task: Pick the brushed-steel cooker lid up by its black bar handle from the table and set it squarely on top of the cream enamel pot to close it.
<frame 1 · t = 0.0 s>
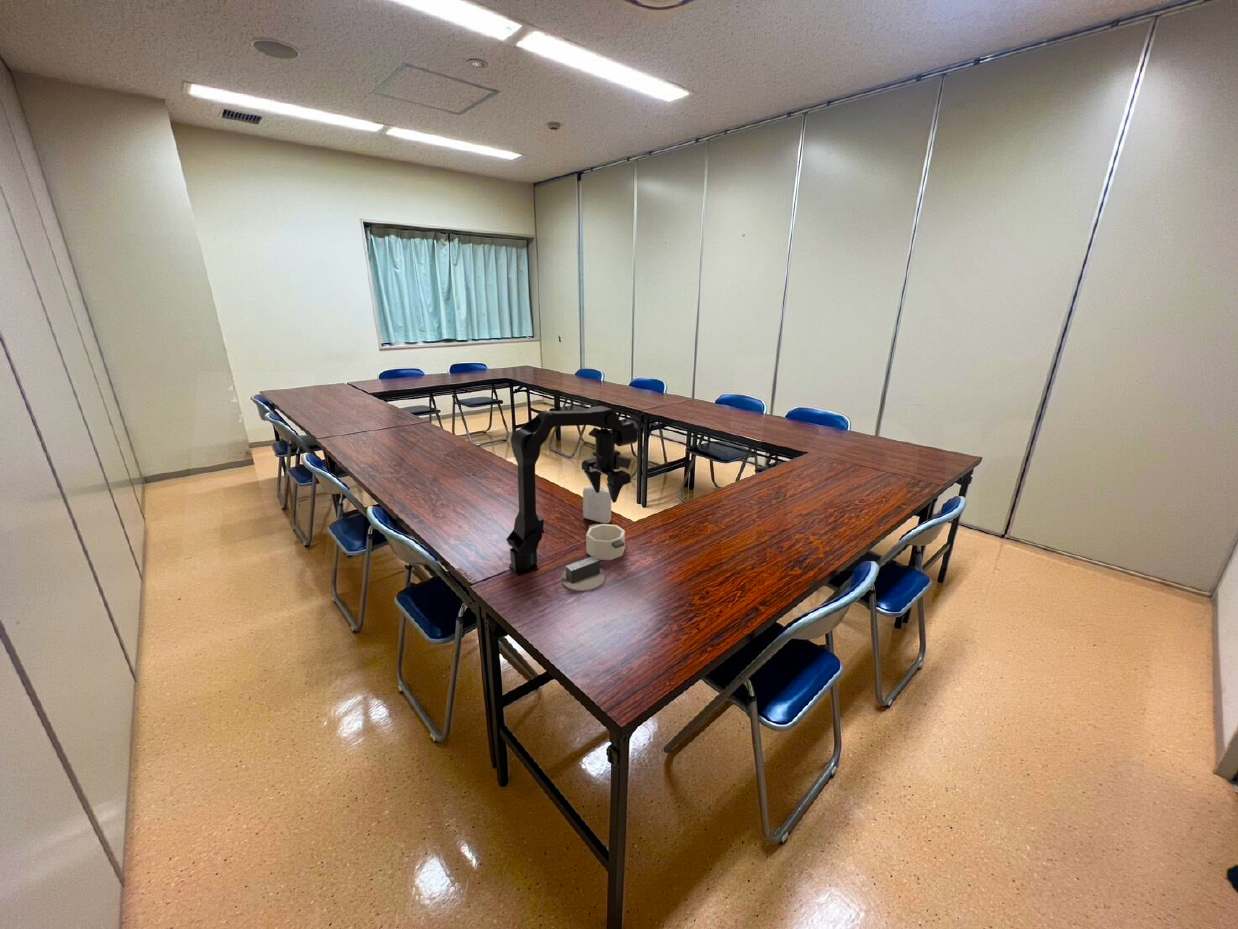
hand: (605, 497, 146), 15 cm above the table, tool pointing down, fingers open, 9 cm apart
photo printer: (597, 519, 165), on the table
cooker pot: (605, 550, 144), on the table
cooker lid: (583, 579, 130), on the table
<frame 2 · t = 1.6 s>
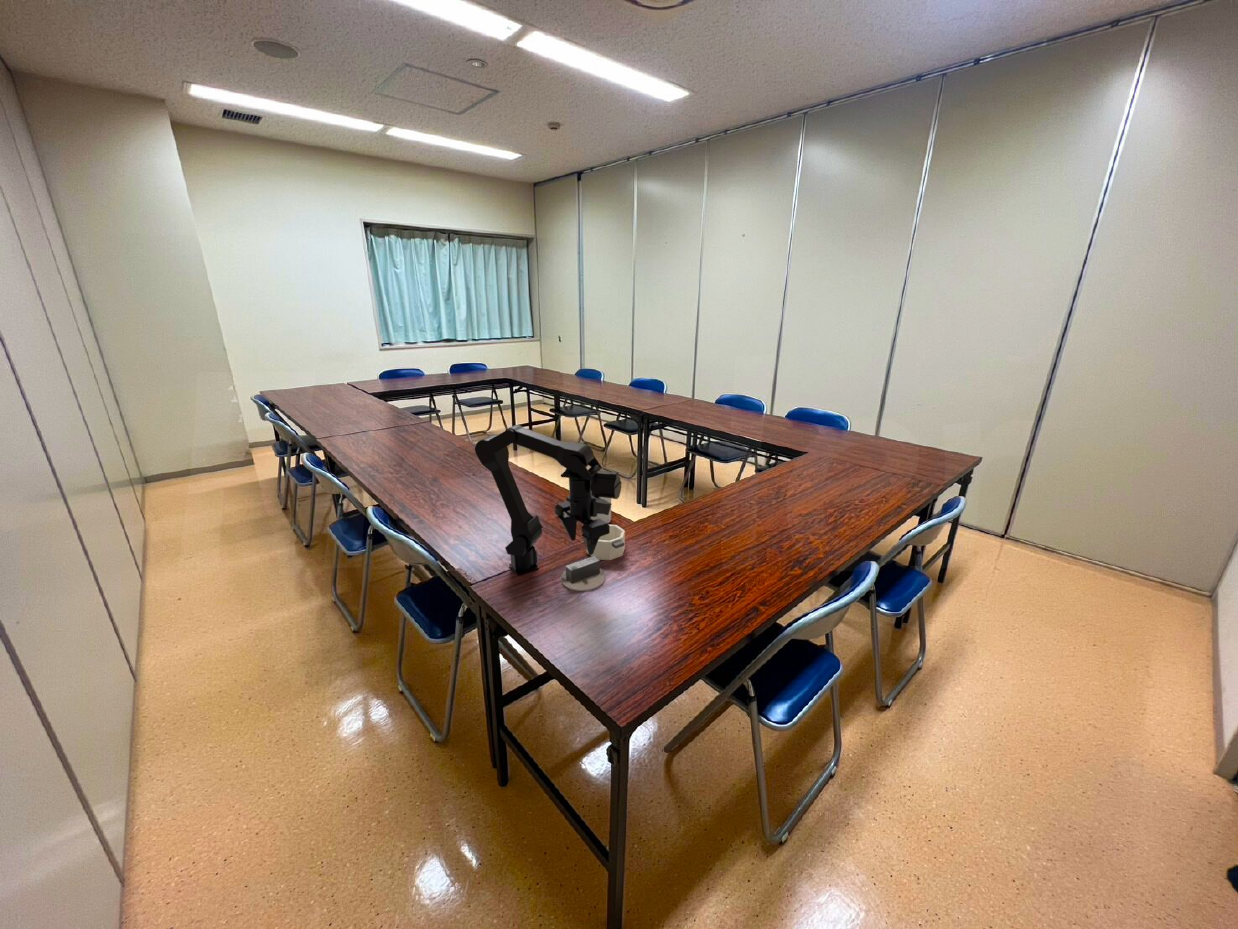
hand: (581, 547, 127), 10 cm above the table, tool pointing down, fingers open, 9 cm apart
nothing on the table moved.
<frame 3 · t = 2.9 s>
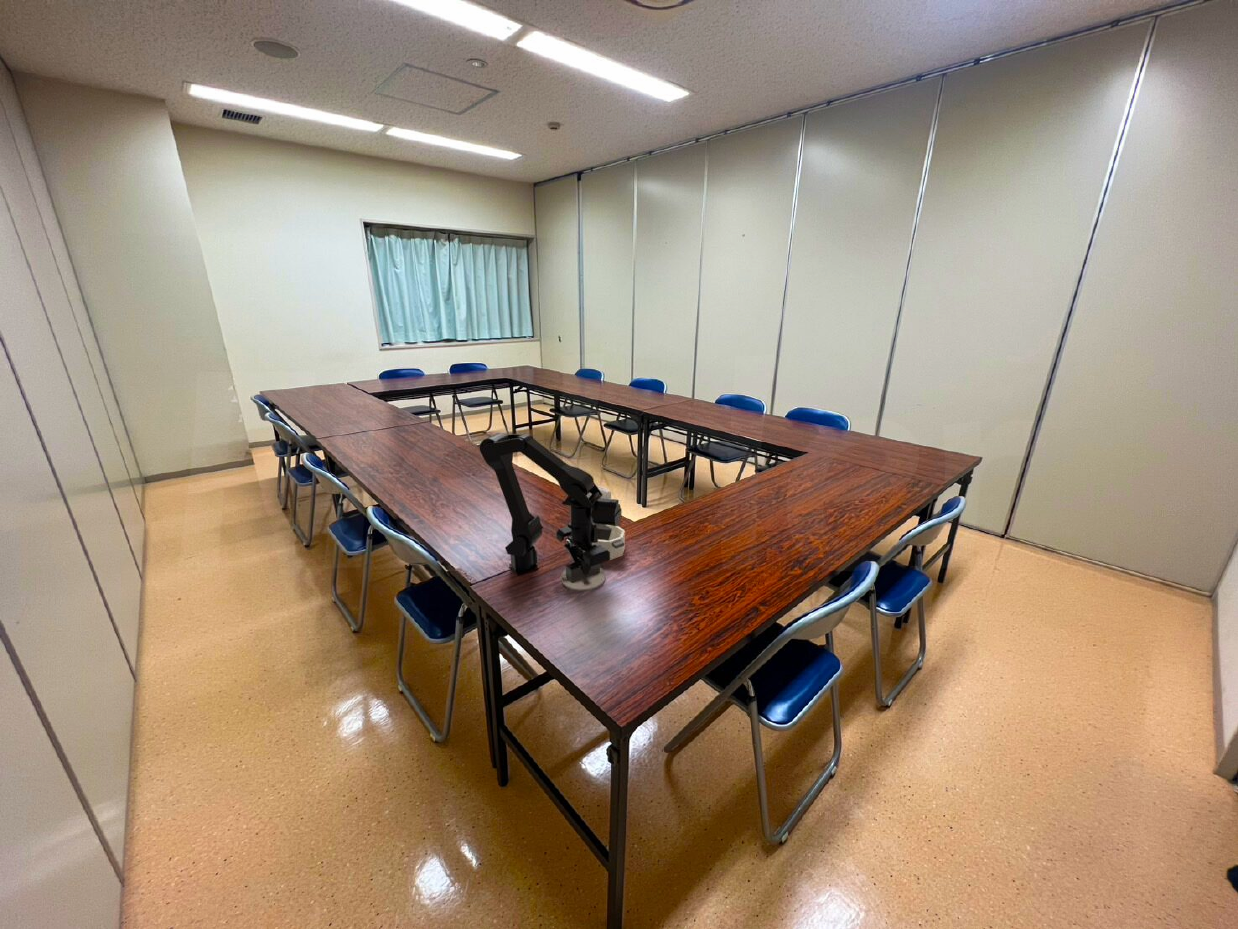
hand: (583, 571, 129), 2 cm above the table, tool pointing down, fingers closed on cooker lid, 3 cm apart
cooker lid: (583, 578, 130), on the table, touching gripper
everything else where it was.
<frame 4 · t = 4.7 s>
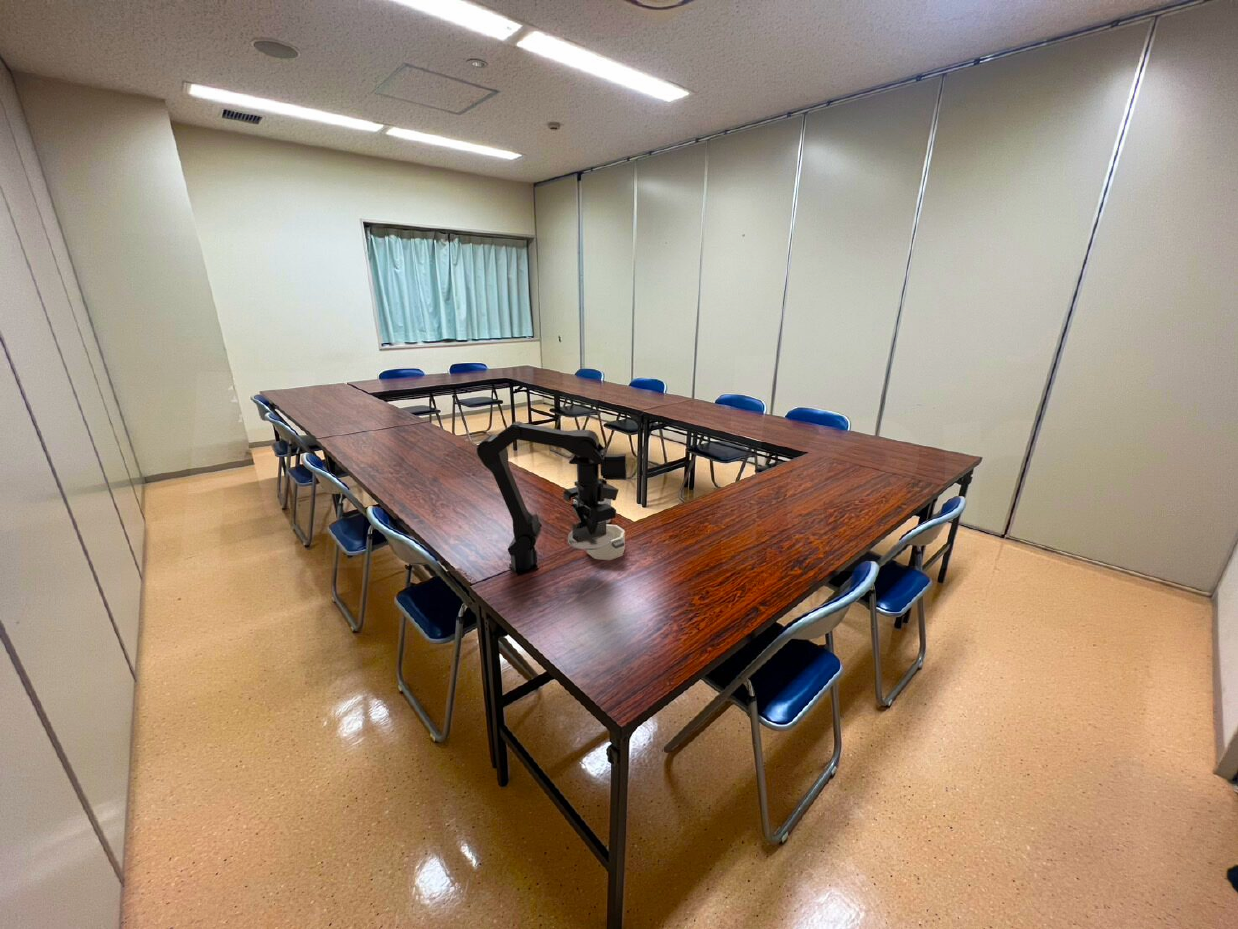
hand: (589, 531, 130), 12 cm above the table, tool pointing down, fingers closed on cooker lid, 3 cm apart
cooker lid: (589, 539, 131), point 10 cm above the table, touching gripper
everything else where it was.
when the fingers open (9 cm above the table, at t = 6.0 s): cooker lid drops 1 cm, resting on cooker pot.
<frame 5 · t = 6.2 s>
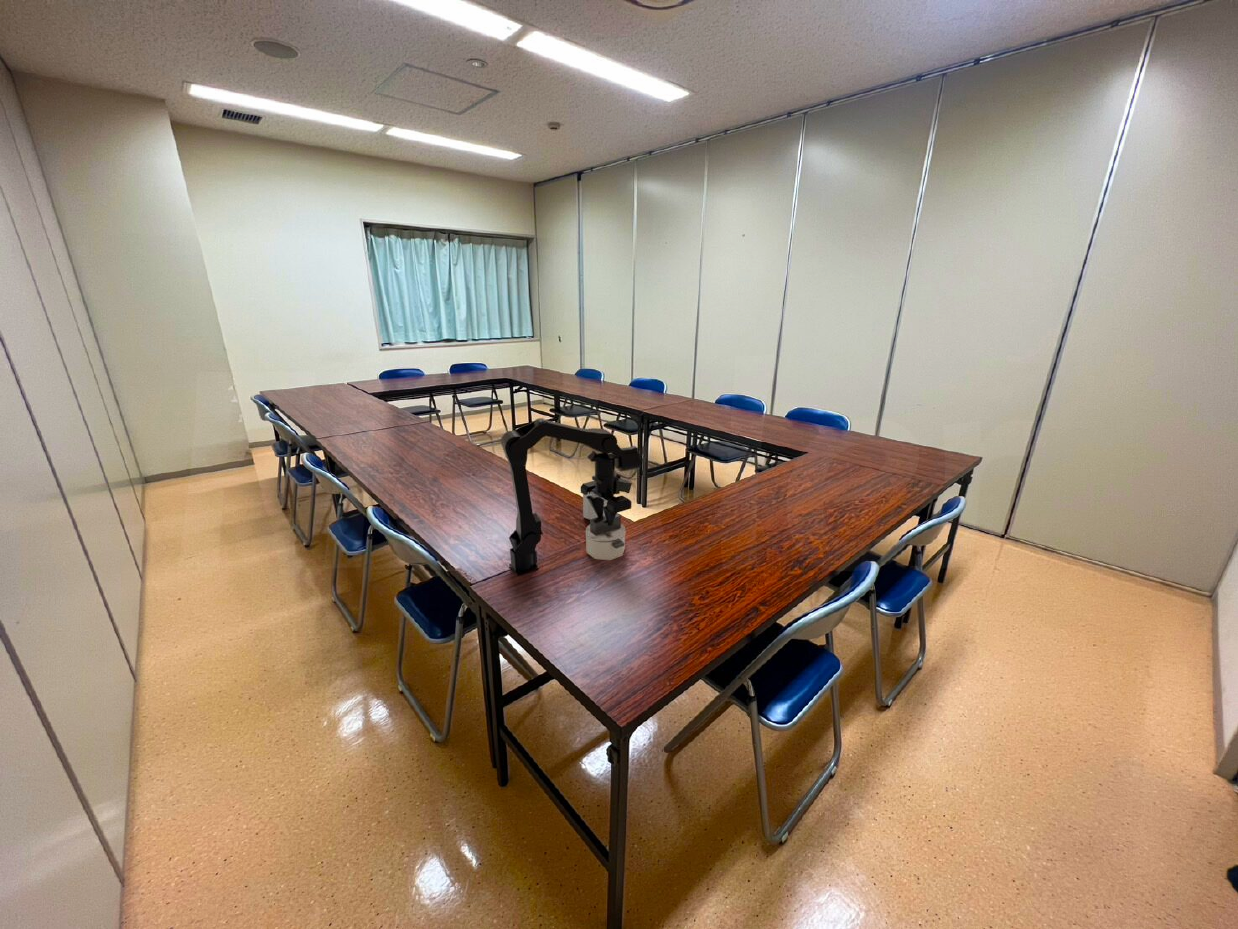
hand: (605, 522, 141), 9 cm above the table, tool pointing down, fingers open, 5 cm apart
cooker lid: (605, 532, 142), point 6 cm above the table, touching cooker pot
everything else where it was.
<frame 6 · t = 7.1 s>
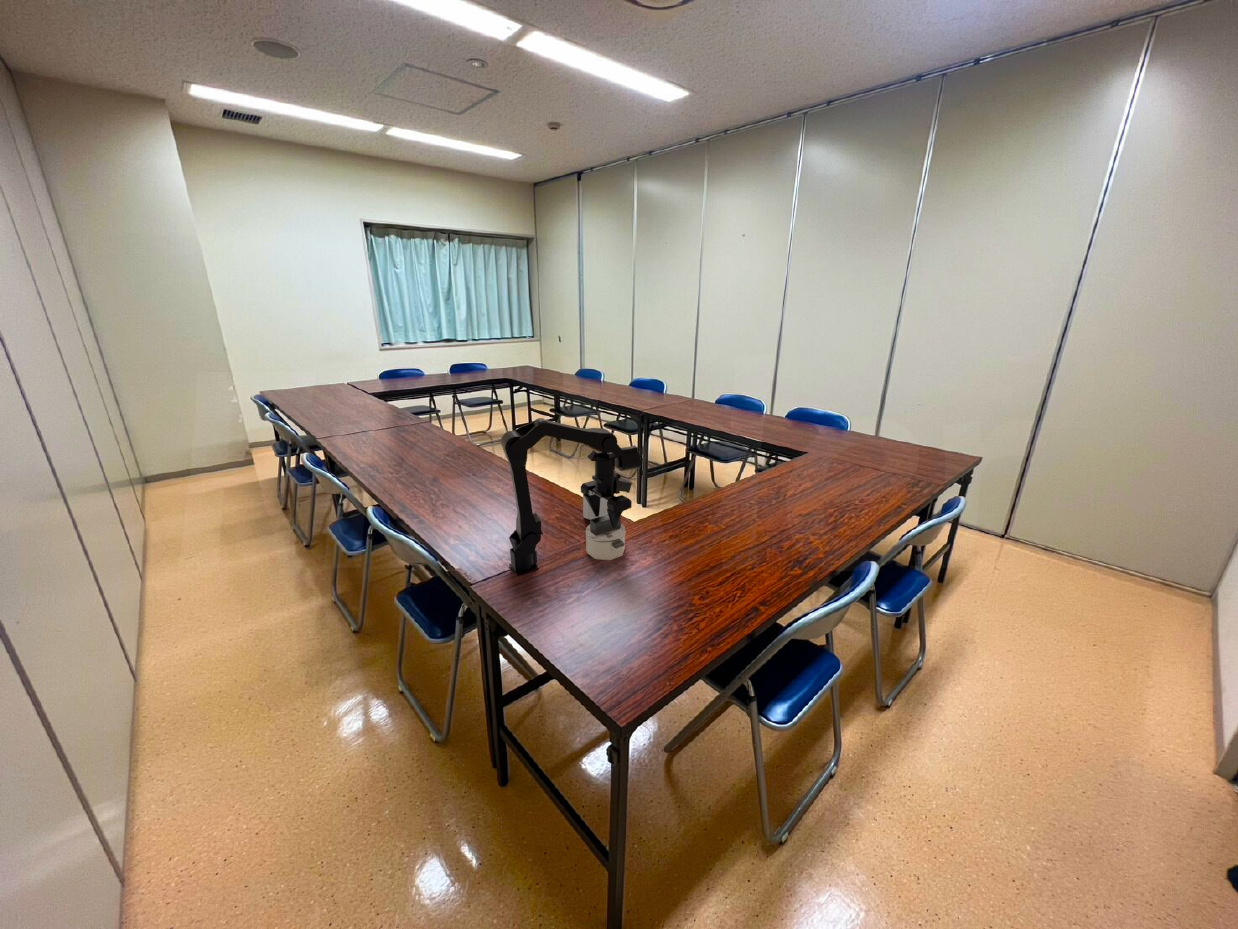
hand: (605, 521, 141), 10 cm above the table, tool pointing down, fingers open, 9 cm apart
nothing on the table moved.
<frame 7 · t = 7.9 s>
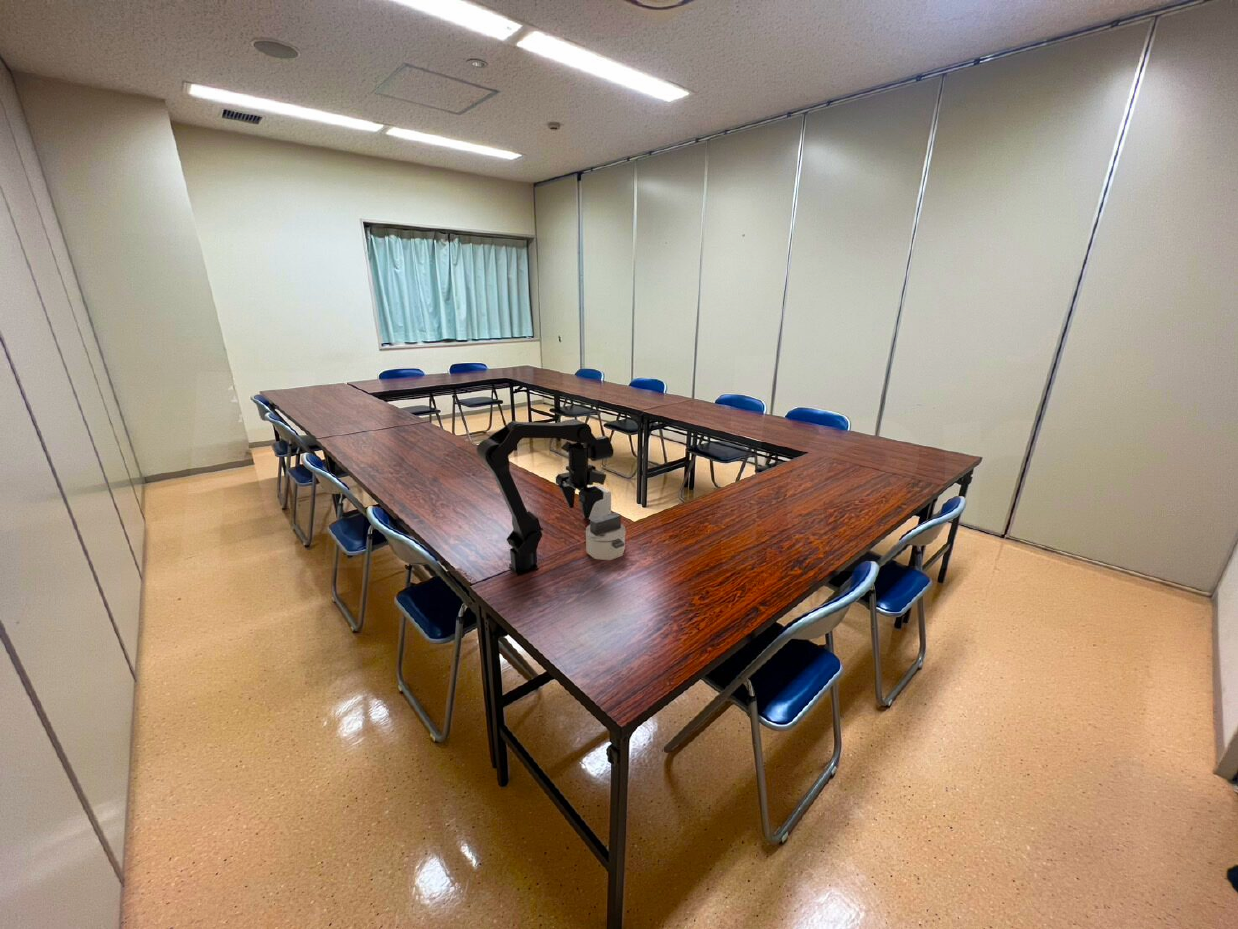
hand: (579, 513, 141), 12 cm above the table, tool pointing down, fingers open, 9 cm apart
nothing on the table moved.
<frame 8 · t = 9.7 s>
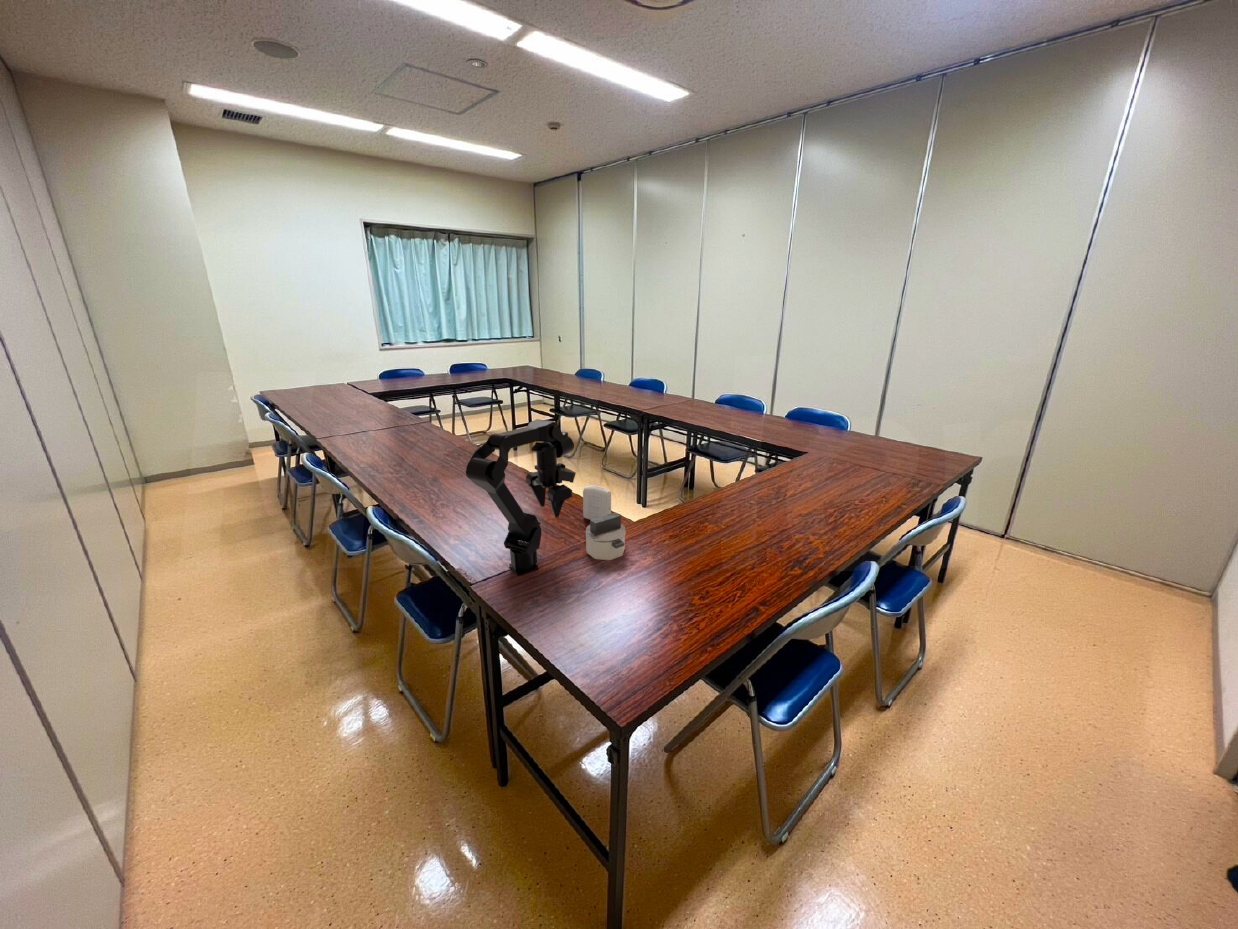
hand: (549, 511, 142), 12 cm above the table, tool pointing down, fingers open, 9 cm apart
nothing on the table moved.
at the end: cooker lid 0.0 cm from the cooker pot (horizontally); cooker lid point 6.0 cm above the table; cooker lid tilted 0° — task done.
